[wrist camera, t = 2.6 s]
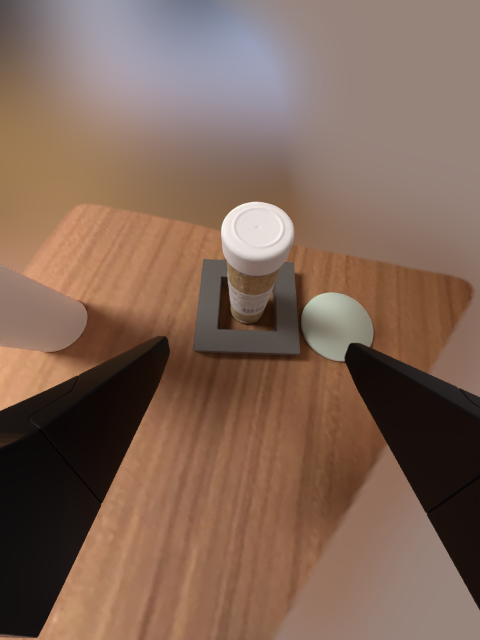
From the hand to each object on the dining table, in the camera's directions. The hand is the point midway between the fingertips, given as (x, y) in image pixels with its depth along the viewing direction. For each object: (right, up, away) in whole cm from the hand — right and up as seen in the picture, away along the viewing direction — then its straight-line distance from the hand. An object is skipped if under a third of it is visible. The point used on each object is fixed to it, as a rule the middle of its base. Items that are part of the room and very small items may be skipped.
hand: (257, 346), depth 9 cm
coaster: (+11, +1, +14) cm, 18 cm away
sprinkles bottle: (0, +3, +15) cm, 15 cm away
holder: (0, +3, +15) cm, 15 cm away
